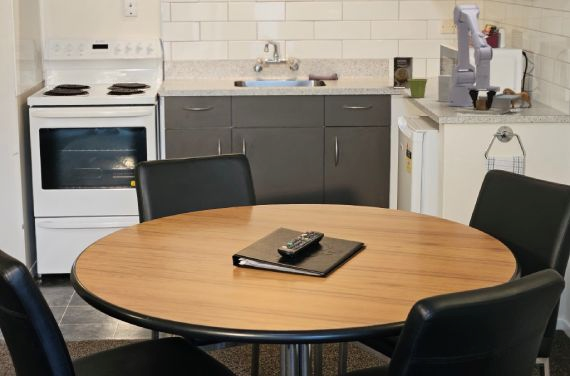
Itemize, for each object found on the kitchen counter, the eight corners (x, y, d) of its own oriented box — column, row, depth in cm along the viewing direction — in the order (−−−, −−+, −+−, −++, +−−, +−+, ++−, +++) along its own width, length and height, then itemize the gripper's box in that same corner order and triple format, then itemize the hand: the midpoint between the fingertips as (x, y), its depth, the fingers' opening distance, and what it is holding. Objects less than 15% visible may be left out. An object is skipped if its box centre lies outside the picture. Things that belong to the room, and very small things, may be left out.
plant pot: (404, 97, 463) (404, 79, 461) (421, 96, 467) (421, 78, 465) (413, 99, 455) (413, 80, 453) (431, 97, 458) (431, 79, 456)
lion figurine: (506, 109, 409) (507, 88, 407) (499, 108, 414) (499, 87, 412) (535, 107, 414) (535, 86, 412) (527, 106, 419) (528, 85, 417)
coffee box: (393, 88, 502) (393, 57, 498) (395, 87, 508) (395, 56, 504) (410, 88, 499) (410, 57, 496) (412, 87, 505) (412, 56, 501)
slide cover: (492, 99, 396) (492, 95, 396) (502, 96, 405) (502, 93, 405) (511, 100, 392) (511, 96, 392) (521, 97, 401) (521, 94, 400)
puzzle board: (454, 112, 406) (454, 98, 405) (466, 108, 416) (466, 95, 415) (499, 114, 395) (499, 100, 394) (510, 111, 405) (510, 97, 403)
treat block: (475, 112, 405) (476, 100, 404) (479, 110, 408) (479, 99, 407) (484, 112, 403) (485, 100, 402) (488, 111, 406) (488, 99, 405)
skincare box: (454, 101, 442) (454, 75, 440) (449, 102, 439) (449, 76, 437) (442, 100, 446) (443, 74, 444) (437, 101, 443) (438, 75, 441)
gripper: (462, 76, 403) (462, 108, 406) (495, 77, 395) (495, 110, 398) (469, 74, 409) (469, 106, 412) (502, 75, 401) (501, 108, 403)
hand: (482, 108), depth 405 cm, fingers open, 5 cm apart
